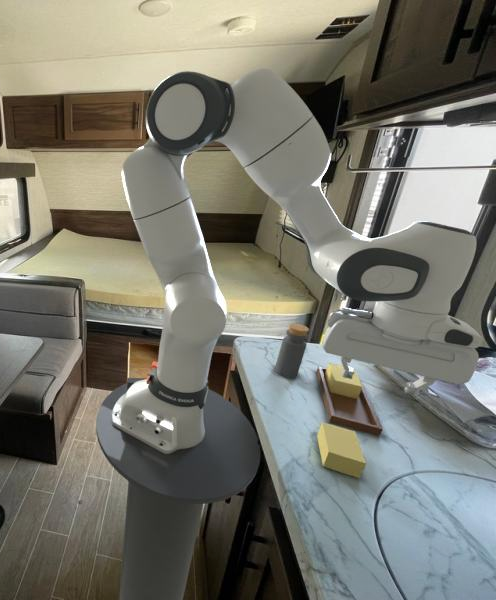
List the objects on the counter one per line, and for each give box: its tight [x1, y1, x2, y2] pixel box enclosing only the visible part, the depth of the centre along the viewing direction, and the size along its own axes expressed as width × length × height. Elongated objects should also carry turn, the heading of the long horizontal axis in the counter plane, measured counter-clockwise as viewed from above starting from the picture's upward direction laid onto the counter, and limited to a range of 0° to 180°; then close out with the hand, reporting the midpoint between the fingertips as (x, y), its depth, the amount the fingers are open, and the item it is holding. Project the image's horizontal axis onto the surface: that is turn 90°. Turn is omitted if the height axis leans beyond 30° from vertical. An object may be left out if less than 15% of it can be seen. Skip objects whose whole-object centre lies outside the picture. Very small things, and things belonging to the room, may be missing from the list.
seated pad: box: [325, 362, 363, 399], centre depth 87 cm, size 6×9×4 cm, turn 154°
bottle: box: [274, 323, 310, 379], centre depth 92 cm, size 6×6×15 cm
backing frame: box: [315, 365, 384, 437], centre depth 83 cm, size 10×23×2 cm, turn 154°
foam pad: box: [316, 421, 367, 479], centre depth 67 cm, size 6×9×4 cm, turn 154°
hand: (376, 384), depth 61 cm, fingers open, 8 cm apart
